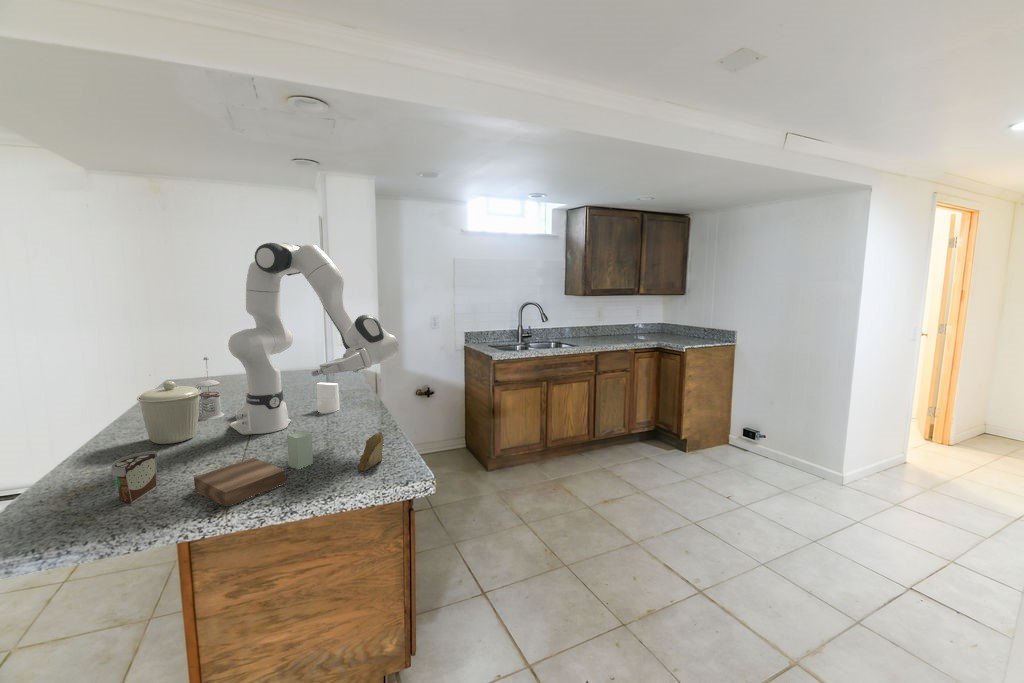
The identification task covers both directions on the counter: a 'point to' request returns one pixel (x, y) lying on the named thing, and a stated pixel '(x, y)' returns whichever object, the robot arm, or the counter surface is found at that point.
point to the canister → (170, 412)
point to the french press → (209, 400)
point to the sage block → (300, 449)
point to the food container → (135, 475)
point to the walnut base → (239, 481)
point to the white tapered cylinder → (327, 397)
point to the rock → (372, 452)
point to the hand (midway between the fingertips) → (318, 373)
